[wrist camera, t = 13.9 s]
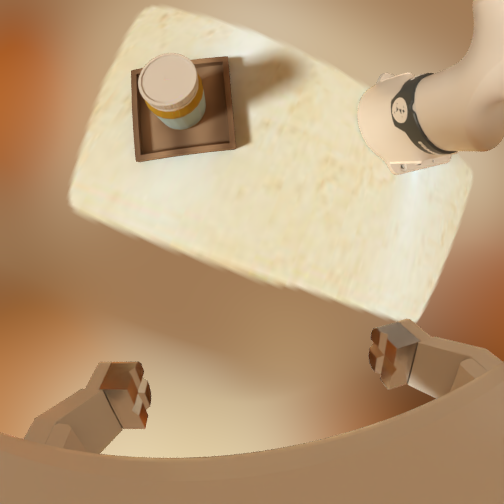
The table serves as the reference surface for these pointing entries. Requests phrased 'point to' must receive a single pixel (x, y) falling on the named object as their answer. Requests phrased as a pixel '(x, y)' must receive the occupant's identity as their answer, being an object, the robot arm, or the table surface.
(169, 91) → the bottle
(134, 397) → the robot arm
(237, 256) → the table surface
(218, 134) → the serving tray
